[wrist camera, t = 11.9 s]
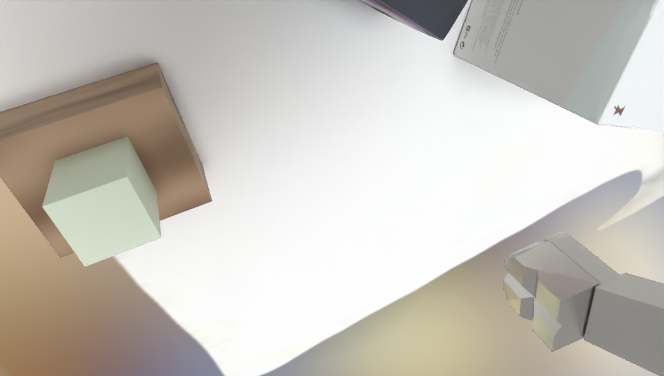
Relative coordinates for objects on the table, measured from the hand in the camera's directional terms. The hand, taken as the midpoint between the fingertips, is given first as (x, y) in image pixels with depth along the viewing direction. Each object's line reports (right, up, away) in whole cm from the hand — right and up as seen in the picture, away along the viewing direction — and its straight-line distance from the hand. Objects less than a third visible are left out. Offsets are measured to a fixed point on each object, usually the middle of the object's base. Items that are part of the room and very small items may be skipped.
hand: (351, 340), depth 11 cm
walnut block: (-19, +7, +28) cm, 35 cm away
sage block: (-17, +4, +24) cm, 29 cm away
